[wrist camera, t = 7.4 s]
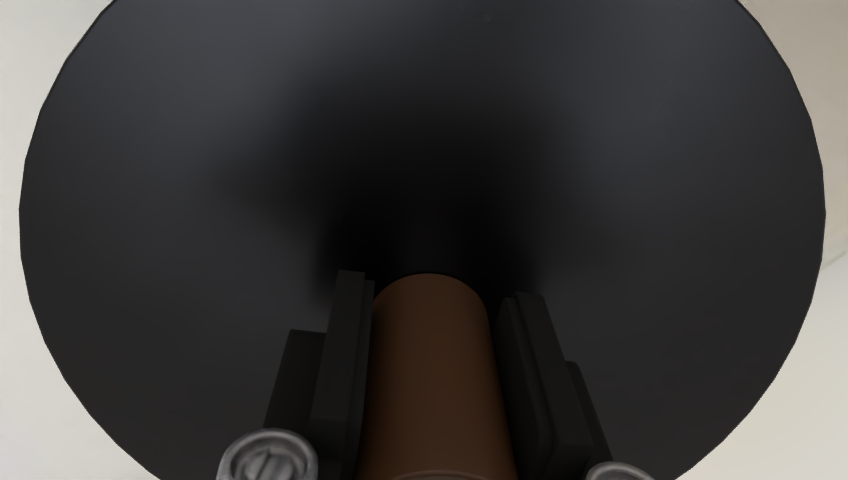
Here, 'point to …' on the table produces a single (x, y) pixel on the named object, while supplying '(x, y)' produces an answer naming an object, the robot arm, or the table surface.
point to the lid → (421, 217)
